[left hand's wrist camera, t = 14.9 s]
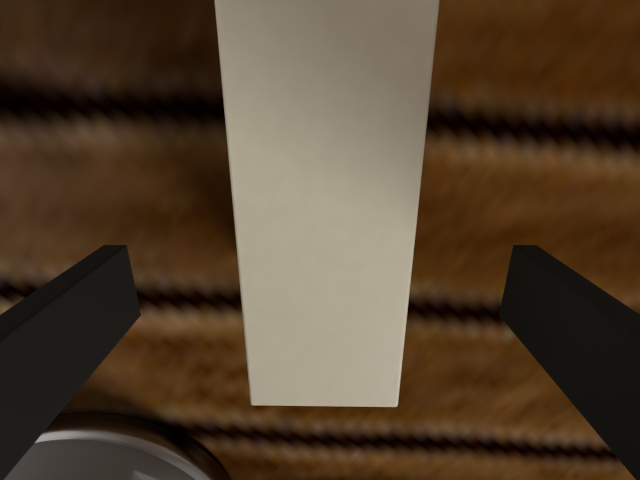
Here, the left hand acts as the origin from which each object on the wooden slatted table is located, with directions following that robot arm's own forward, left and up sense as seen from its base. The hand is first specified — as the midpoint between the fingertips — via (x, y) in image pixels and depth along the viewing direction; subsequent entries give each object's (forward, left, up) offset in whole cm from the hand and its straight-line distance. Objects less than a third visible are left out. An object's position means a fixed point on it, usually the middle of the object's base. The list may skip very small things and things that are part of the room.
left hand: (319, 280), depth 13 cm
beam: (0, +12, -4) cm, 13 cm away
